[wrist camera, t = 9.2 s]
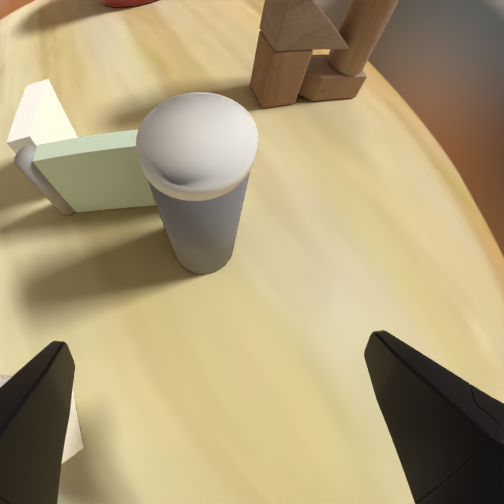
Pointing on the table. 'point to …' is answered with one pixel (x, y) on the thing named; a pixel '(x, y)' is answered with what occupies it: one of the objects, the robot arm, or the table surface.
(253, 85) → the toy block tower
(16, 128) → the wall frame
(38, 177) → the door
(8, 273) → the table surface
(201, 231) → the post
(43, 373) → the robot arm
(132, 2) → the canister
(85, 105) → the table surface
